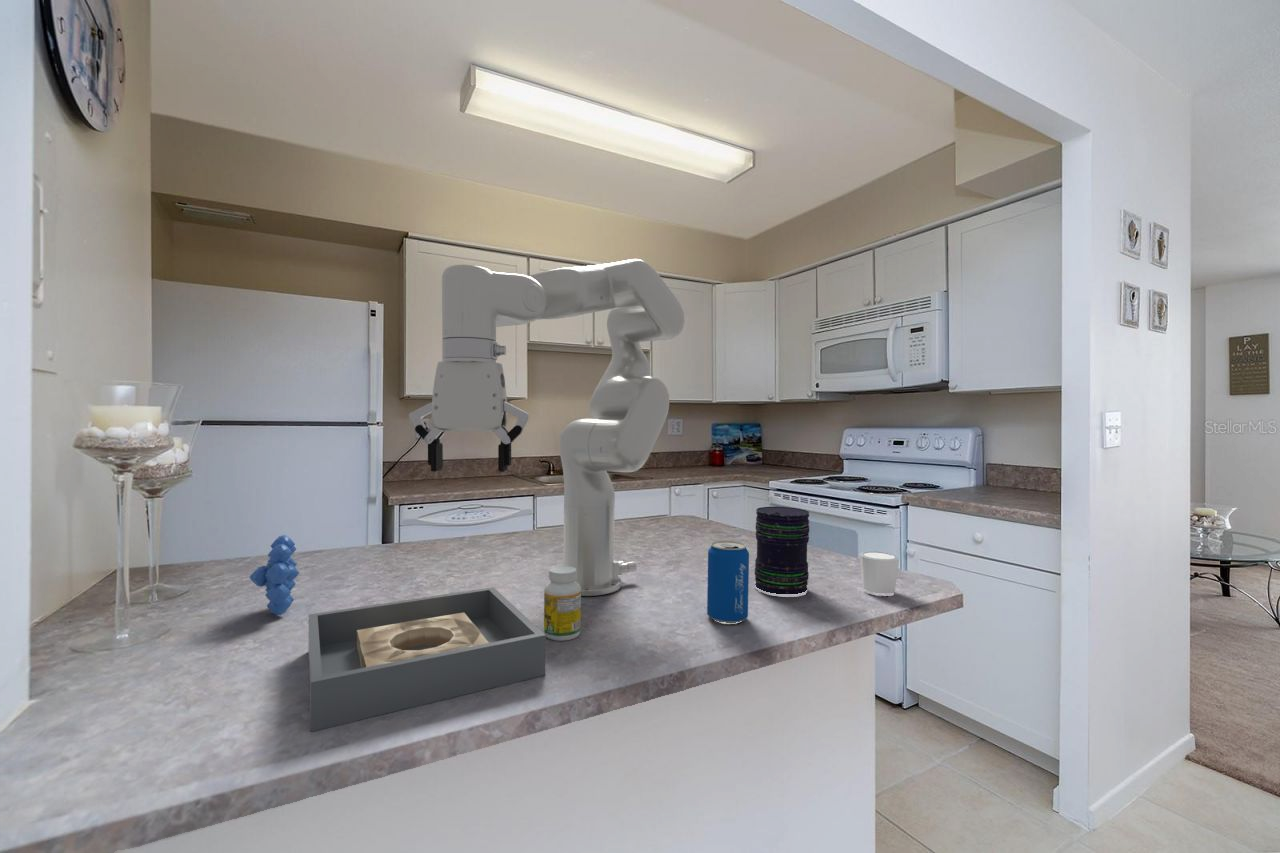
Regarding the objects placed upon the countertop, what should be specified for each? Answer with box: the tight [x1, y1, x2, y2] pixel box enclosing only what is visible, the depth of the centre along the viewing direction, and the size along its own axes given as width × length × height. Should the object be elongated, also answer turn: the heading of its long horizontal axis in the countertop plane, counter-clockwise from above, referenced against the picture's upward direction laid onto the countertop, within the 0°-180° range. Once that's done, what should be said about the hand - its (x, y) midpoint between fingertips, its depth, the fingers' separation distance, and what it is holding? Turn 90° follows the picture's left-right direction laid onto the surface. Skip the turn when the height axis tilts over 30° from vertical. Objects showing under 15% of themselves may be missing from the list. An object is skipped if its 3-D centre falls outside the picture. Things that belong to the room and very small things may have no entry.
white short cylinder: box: [859, 551, 900, 593], centre depth 104 cm, size 7×7×7 cm
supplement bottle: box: [543, 565, 582, 642], centre depth 82 cm, size 5×5×10 cm
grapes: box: [249, 534, 300, 616], centre depth 89 cm, size 12×7×12 cm, turn 27°
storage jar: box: [754, 506, 810, 594], centre depth 105 cm, size 10×10×15 cm
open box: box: [307, 587, 547, 732], centre depth 72 cm, size 25×22×5 cm
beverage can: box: [706, 540, 750, 623], centre depth 89 cm, size 6×6×12 cm
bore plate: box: [357, 612, 489, 668], centre depth 72 cm, size 14×14×2 cm
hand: (470, 470), depth 82 cm, fingers open, 9 cm apart
